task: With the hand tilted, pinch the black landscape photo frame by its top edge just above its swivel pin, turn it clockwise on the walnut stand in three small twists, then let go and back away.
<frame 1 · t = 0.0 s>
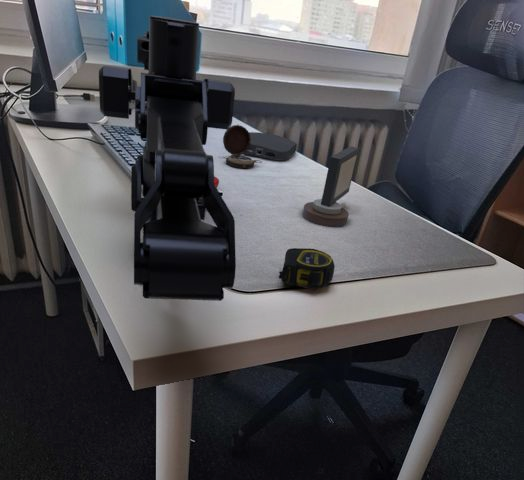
hand: (166, 88, 80), 17 cm above the table, tool horizontal, fingers open, 9 cm apart
candy bar: (197, 199, 89), on the table
media streaming box: (262, 152, 124), on the table
tape measure: (299, 283, 68), on the table
frame: (338, 179, 90), point 6 cm above the table, hinge at 0.0°
swivel stand: (324, 217, 90), on the table
compass: (242, 164, 112), on the table
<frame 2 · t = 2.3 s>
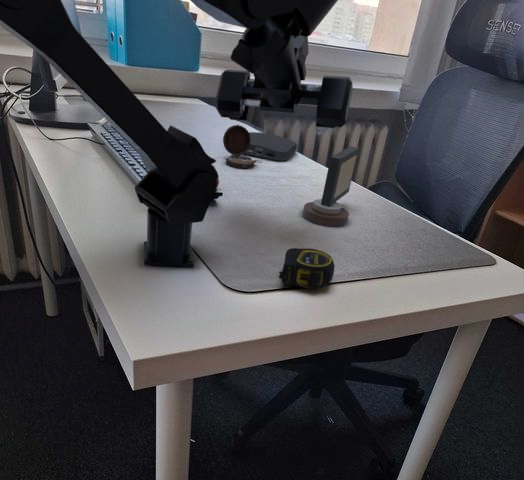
hand: (291, 129, 80), 14 cm above the table, tool tilted 50°, fingers open, 9 cm apart
nothing on the table moved.
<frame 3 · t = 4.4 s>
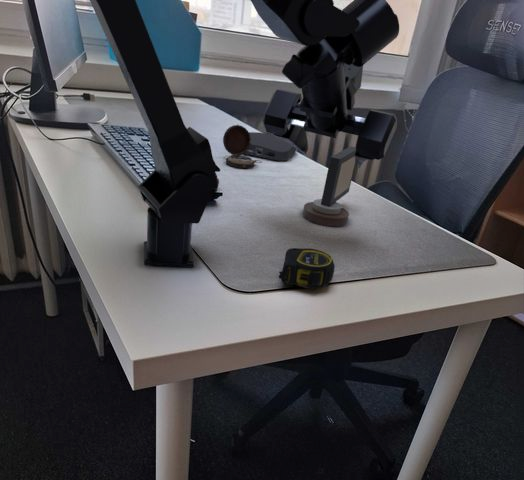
hand: (332, 158, 82), 11 cm above the table, tool tilted 45°, fingers open, 9 cm apart
nothing on the table moved.
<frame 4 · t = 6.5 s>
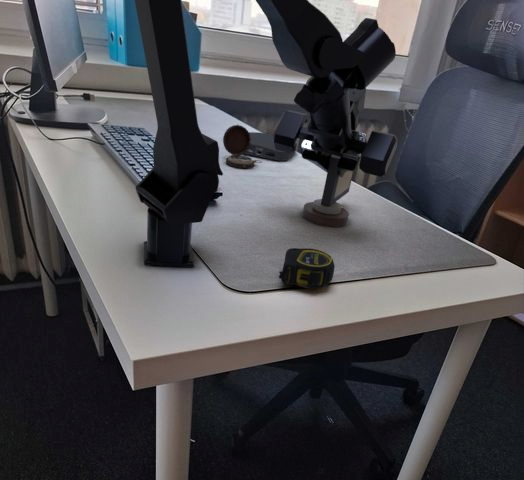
hand: (336, 173, 87), 8 cm above the table, tool tilted 45°, fingers closed on frame, 2 cm apart
frame: (338, 179, 90), point 6 cm above the table, hinge at 0.0°, touching gripper
everything else where it was.
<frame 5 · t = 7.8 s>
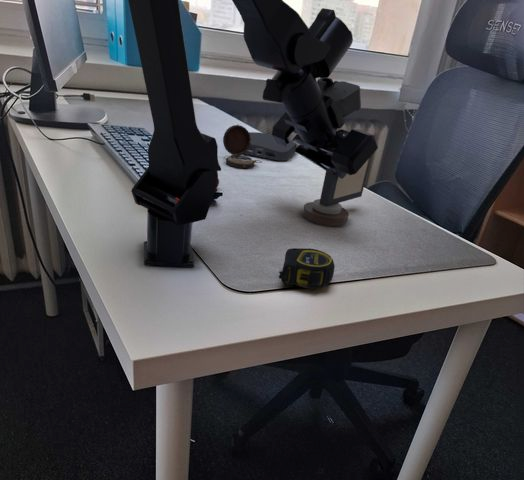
hand: (338, 174, 87), 8 cm above the table, tool tilted 45°, fingers closed on frame, 2 cm apart
frame: (344, 180, 90), point 6 cm above the table, hinge at -15.9°, touching gripper
everything else where it was.
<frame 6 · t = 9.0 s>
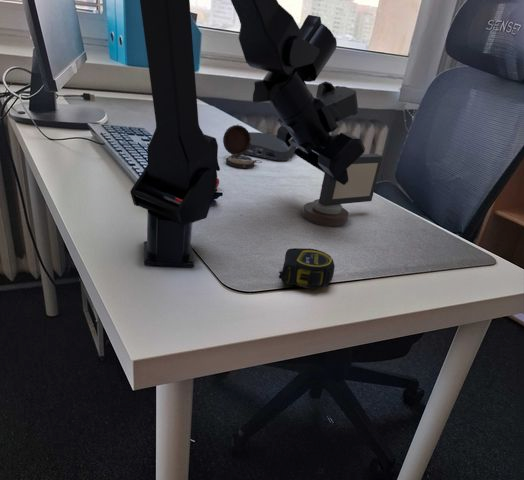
hand: (340, 179, 87), 7 cm above the table, tool tilted 45°, fingers open, 3 cm apart
frame: (348, 182, 89), point 6 cm above the table, hinge at -30.6°
everything else where it was.
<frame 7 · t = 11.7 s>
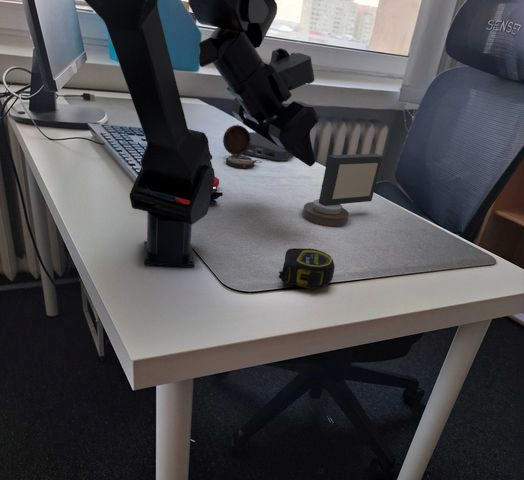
hand: (298, 155, 81), 11 cm above the table, tool tilted 45°, fingers open, 9 cm apart
nothing on the table moved.
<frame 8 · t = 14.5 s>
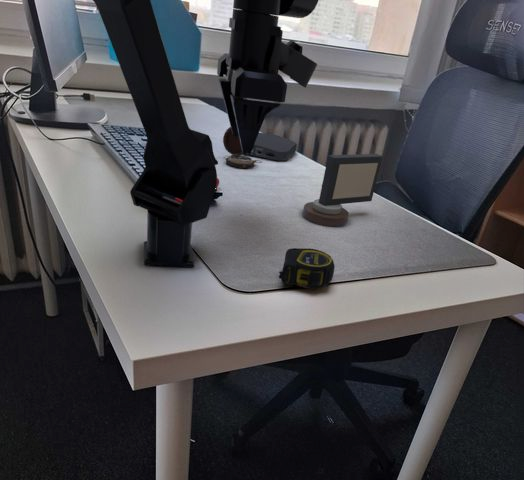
hand: (241, 144, 72), 13 cm above the table, tool pointing down, fingers open, 9 cm apart
nothing on the table moved.
at the end: frame at -31° (first picture: +0°); the gripper is holding nothing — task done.
